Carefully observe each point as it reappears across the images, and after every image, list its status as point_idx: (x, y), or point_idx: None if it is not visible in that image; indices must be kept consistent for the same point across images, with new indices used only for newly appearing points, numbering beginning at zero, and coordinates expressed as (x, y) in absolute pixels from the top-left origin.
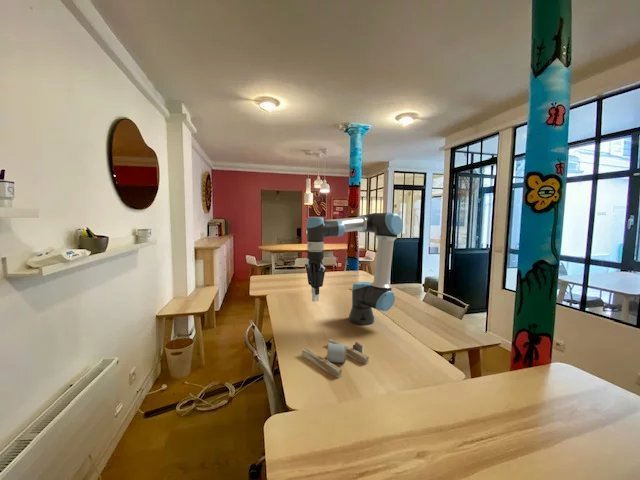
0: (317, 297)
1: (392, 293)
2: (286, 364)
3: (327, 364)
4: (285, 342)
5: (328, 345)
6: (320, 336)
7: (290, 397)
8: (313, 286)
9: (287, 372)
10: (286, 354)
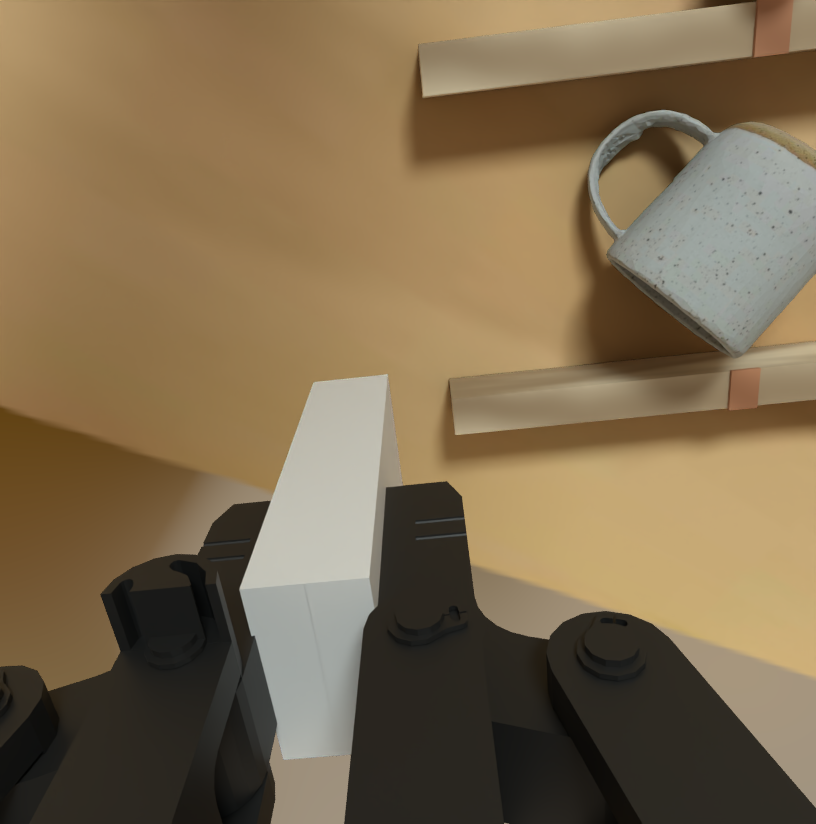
0: (390, 443)
1: None
2: (494, 552)
3: (789, 401)
4: (162, 410)
5: (726, 338)
6: (182, 34)
7: (798, 668)
8: (267, 733)
9: (585, 586)
10: None
